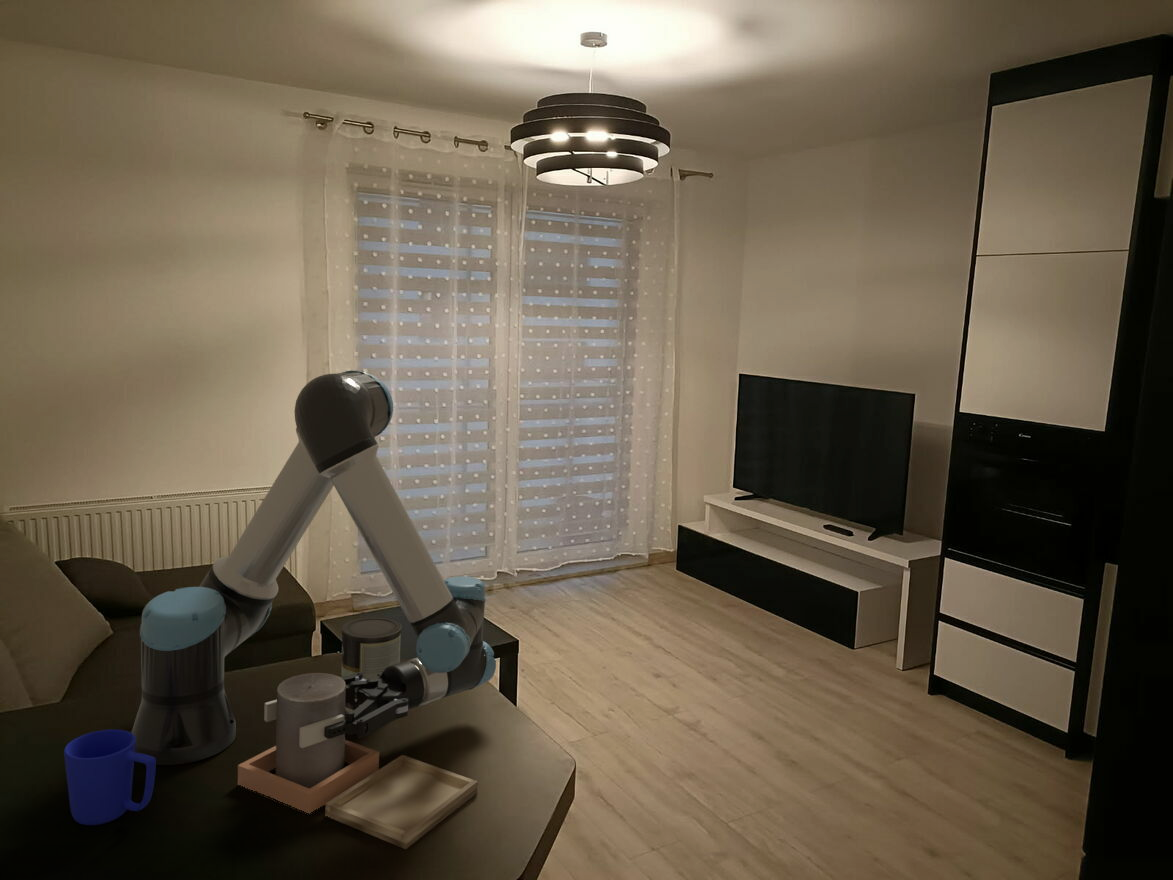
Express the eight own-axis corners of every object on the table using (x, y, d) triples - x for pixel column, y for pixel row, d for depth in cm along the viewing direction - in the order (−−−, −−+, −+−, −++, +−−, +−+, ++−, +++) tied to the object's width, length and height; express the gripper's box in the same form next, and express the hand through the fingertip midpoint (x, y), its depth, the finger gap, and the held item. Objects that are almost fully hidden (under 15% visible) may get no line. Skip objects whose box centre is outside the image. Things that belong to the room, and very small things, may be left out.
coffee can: (329, 711, 145) (331, 633, 143) (354, 687, 155) (356, 614, 153) (386, 718, 143) (389, 639, 142) (407, 693, 153) (410, 620, 152)
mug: (130, 842, 106) (130, 768, 105) (50, 826, 108) (48, 753, 107) (174, 807, 114) (174, 738, 113) (98, 793, 116) (97, 725, 115)
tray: (325, 815, 114) (325, 803, 114) (401, 765, 128) (402, 754, 128) (405, 849, 108) (406, 836, 107) (477, 793, 122) (477, 781, 122)
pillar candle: (290, 754, 128) (291, 662, 126) (353, 759, 128) (355, 666, 126) (264, 789, 119) (264, 689, 117) (332, 794, 118) (333, 694, 116)
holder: (237, 784, 120) (237, 765, 120) (310, 745, 133) (311, 727, 132) (308, 814, 114) (309, 794, 114) (378, 770, 126) (379, 751, 126)
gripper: (454, 730, 129) (322, 780, 112) (373, 683, 143) (246, 722, 127) (456, 683, 128) (324, 727, 111) (374, 641, 142) (247, 675, 126)
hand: (282, 724), depth 119 cm, fingers closed on pillar candle, 9 cm apart
